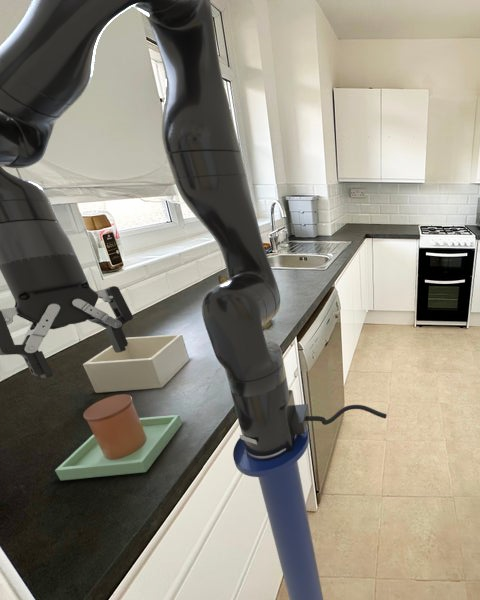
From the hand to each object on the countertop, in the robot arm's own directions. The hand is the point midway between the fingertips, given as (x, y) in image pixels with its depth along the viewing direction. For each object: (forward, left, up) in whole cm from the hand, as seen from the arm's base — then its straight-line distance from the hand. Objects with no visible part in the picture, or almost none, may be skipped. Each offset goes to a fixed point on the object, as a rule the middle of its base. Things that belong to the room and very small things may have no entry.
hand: (87, 363), depth 47 cm
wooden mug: (-2, -54, -20) cm, 58 cm away
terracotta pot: (+3, -3, -19) cm, 20 cm away
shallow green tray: (+3, -3, -20) cm, 21 cm away
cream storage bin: (+15, -28, -20) cm, 38 cm away
